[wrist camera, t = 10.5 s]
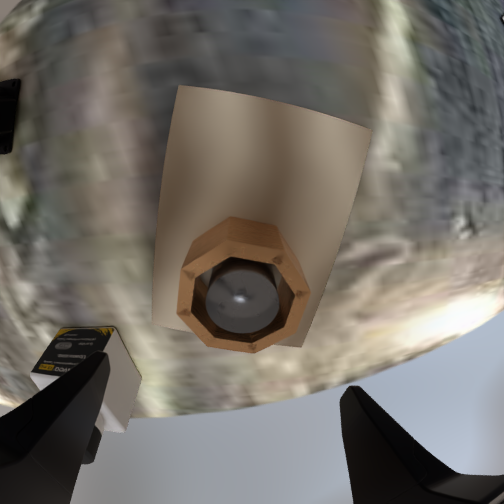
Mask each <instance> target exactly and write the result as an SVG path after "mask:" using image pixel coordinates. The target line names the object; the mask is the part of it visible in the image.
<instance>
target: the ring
mask: <svg viewBox="0 0 504 504" xmlns="http://www.w3.org/2000/svg"><path fill="white" fill-rule="evenodd" d="M230 256H232V257H238V258H243V259H249V260H254V261H260V262H265V263H270V264H275V266H276V267H277V269H278V270H279V272H280V273H281V274H282V277H281V280H280V283H279V287H278V290H277V292H278V296H279V309H278V312H277V315H276V316H275V318H274V319H273V320H272V322H271V323H270V324H268V325H267V326H266V327H264V328H262V329H260V330H258V331H255V332H251V333H234V332H230V331H227V330H225V329H223V328H221V327H219V326H218V325H217V324H215V323H214V322H213V320H212V319H211V318H210V316H209V315H208V312H207V309H206V296H207V291H208V287H207V286H206V285H205V284H204V282H203V281H202V280H201V279H200V275H201V274H202V273H204V272H205V271H207V270H209V269H210V268H212V267H214V266H215V265H217V264H219V263H220V262H222V261H223V260H225V259H227V258H228V257H230ZM310 294H311V291H310V288H309V285H308V283H307V280H306V278H305V275H304V273H303V271H302V268H301V266H300V263H299V261H298V259H297V257H296V256H295V254H294V253H293V251H292V249H291V248H290V246H289V245H288V243H287V242H286V240H285V238H284V237H283V235H282V234H281V232H280V231H279V229H278V227H277V226H276V225H272V224H267V223H262V222H257V221H252V220H247V219H242V218H237V217H231V216H230V217H228V218H227V219H225V220H224V221H222V222H221V223H219V224H217V225H216V226H214V227H213V228H211V229H210V230H208V231H207V232H205V233H204V234H202V235H201V236H199V237H198V238H196V239H195V240H193V241H192V244H191V246H190V248H189V251H188V253H187V256H186V258H185V260H184V263H183V265H182V267H181V271H180V280H179V290H178V300H177V311H176V314H177V315H178V316H179V318H180V319H181V320H182V321H183V322H184V323H185V324H186V325H187V326H188V327H189V328H190V329H191V330H192V331H193V332H194V333H195V334H196V335H197V336H198V337H199V338H200V339H201V340H202V342H203V343H204V344H205V345H206V346H208V347H214V348H220V349H226V350H233V351H240V352H247V353H256V352H258V351H260V350H263V349H265V348H267V347H269V346H271V345H273V344H275V343H277V342H279V341H281V340H283V339H285V338H287V337H289V336H291V335H293V334H295V333H296V331H297V328H298V326H299V323H300V321H301V318H302V316H303V313H304V310H305V308H306V305H307V302H308V300H309V297H310Z"/></svg>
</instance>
